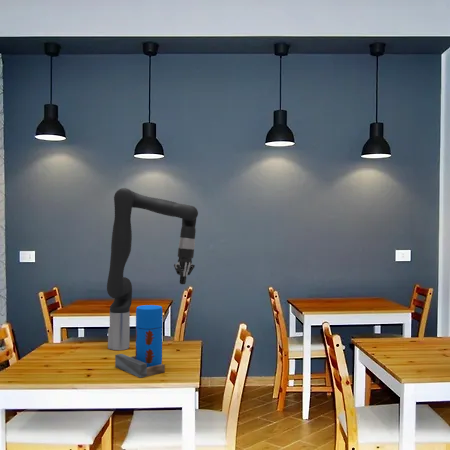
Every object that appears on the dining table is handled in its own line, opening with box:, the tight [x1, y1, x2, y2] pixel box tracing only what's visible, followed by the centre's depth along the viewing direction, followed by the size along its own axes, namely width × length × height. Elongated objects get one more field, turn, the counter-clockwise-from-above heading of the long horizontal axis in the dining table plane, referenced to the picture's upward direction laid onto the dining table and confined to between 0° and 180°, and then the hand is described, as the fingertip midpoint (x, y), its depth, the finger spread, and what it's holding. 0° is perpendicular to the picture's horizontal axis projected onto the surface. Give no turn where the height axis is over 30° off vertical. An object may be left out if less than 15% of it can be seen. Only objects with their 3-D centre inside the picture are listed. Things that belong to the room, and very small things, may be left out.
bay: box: [114, 353, 166, 379], centre depth 218 cm, size 12×19×5 cm, turn 41°
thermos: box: [135, 304, 164, 367], centre depth 221 cm, size 11×11×25 cm
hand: (182, 284), depth 253 cm, fingers closed
